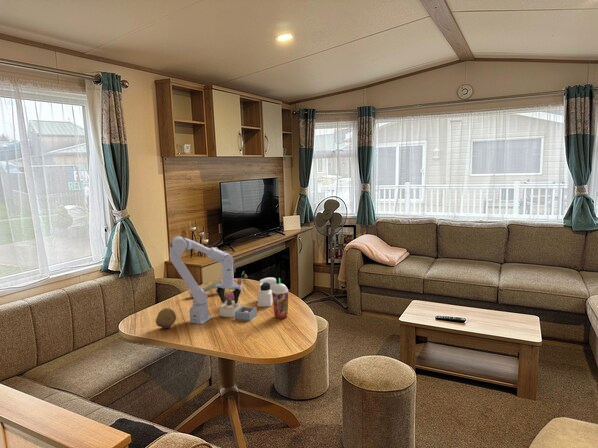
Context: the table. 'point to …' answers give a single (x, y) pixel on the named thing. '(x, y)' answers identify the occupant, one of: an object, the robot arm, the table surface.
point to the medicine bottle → (264, 295)
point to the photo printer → (269, 280)
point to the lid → (229, 304)
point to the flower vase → (218, 281)
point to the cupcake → (229, 296)
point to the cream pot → (229, 312)
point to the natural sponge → (165, 318)
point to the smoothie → (280, 300)
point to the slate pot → (243, 315)
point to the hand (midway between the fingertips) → (229, 302)
